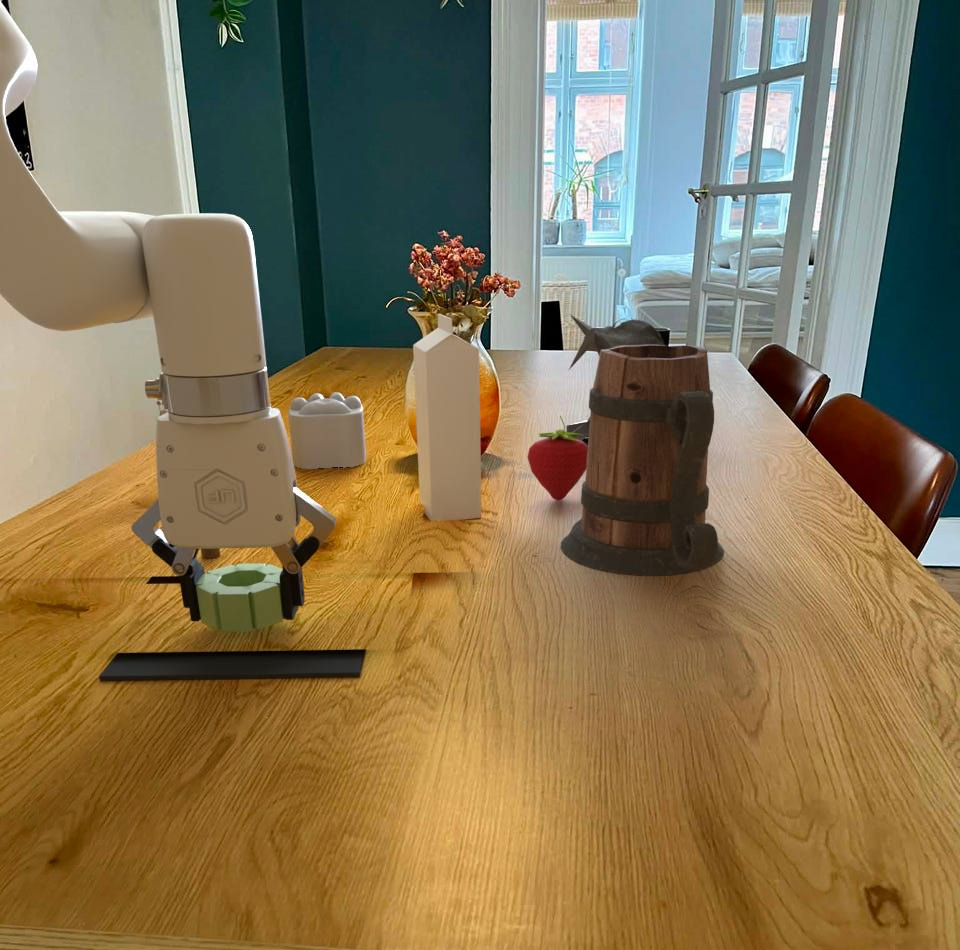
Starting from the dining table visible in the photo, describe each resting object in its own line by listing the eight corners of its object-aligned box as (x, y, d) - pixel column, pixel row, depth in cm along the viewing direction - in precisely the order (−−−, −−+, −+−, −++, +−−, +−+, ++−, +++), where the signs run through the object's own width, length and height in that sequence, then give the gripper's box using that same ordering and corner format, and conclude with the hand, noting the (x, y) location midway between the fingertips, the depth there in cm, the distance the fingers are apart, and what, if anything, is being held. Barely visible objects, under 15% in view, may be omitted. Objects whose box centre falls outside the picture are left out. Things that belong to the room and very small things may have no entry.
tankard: (541, 528, 105) (544, 341, 97) (684, 517, 108) (698, 334, 100) (612, 608, 84) (624, 378, 76) (786, 591, 87) (816, 369, 79)
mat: (99, 680, 73) (98, 676, 72) (155, 609, 85) (154, 605, 85) (359, 677, 73) (359, 672, 72) (376, 606, 85) (376, 602, 85)
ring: (192, 632, 75) (187, 594, 73) (214, 598, 81) (209, 563, 80) (281, 631, 75) (277, 593, 73) (296, 597, 81) (292, 562, 80)
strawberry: (523, 494, 117) (523, 413, 113) (582, 491, 118) (584, 411, 114) (532, 508, 112) (532, 423, 108) (593, 504, 113) (597, 421, 109)
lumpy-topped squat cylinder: (290, 470, 130) (284, 406, 126) (296, 448, 141) (290, 389, 138) (366, 467, 131) (362, 403, 127) (365, 445, 142) (362, 387, 139)
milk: (431, 523, 107) (422, 320, 98) (419, 508, 113) (410, 314, 103) (483, 518, 109) (479, 317, 99) (468, 503, 114) (463, 311, 105)
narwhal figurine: (656, 455, 135) (665, 323, 127) (552, 448, 139) (555, 320, 132) (671, 433, 147) (680, 312, 140) (575, 427, 152) (579, 309, 144)
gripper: (82, 406, 67) (126, 635, 74) (327, 402, 67) (346, 631, 74) (119, 387, 74) (155, 598, 81) (341, 384, 74) (356, 595, 81)
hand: (246, 612), depth 78 cm, fingers closed on ring, 6 cm apart
